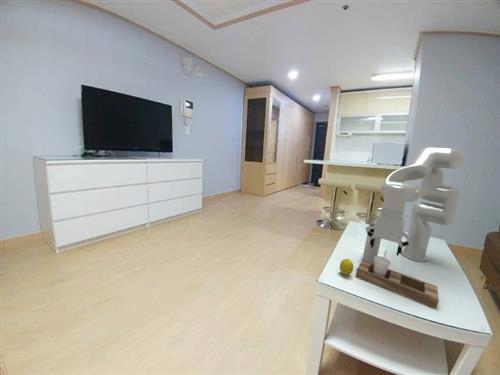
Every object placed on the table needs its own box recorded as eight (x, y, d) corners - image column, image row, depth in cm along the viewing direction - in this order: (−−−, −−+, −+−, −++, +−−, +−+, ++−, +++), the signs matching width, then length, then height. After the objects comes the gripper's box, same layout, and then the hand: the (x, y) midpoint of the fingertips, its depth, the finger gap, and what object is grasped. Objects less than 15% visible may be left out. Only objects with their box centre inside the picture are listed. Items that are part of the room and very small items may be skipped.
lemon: (336, 271, 100) (339, 255, 98) (347, 271, 100) (350, 255, 99) (342, 278, 94) (345, 261, 93) (354, 278, 95) (357, 262, 93)
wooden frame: (360, 267, 105) (362, 259, 104) (434, 294, 88) (437, 286, 87) (355, 276, 97) (357, 268, 96) (436, 309, 80) (438, 299, 79)
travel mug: (378, 265, 108) (386, 228, 104) (364, 263, 109) (371, 226, 105) (373, 259, 114) (381, 224, 110) (360, 257, 115) (367, 222, 111)
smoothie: (386, 285, 92) (393, 255, 89) (369, 279, 95) (375, 250, 92) (386, 278, 97) (393, 250, 94) (370, 273, 100) (376, 245, 98)
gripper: (367, 210, 93) (361, 246, 96) (417, 221, 82) (408, 261, 86) (370, 207, 98) (364, 241, 102) (417, 216, 88) (409, 254, 91)
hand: (384, 250), depth 94 cm, fingers open, 9 cm apart
